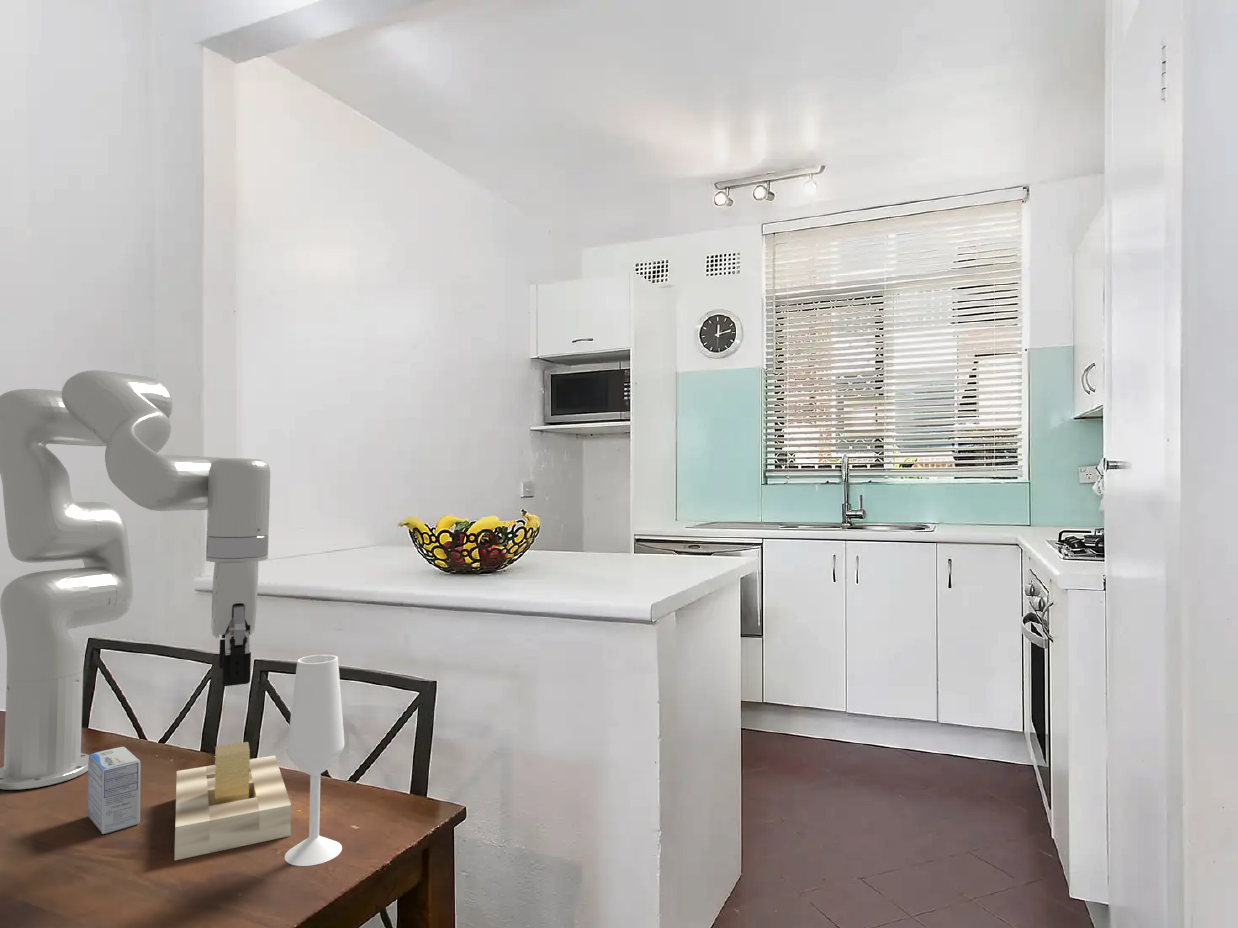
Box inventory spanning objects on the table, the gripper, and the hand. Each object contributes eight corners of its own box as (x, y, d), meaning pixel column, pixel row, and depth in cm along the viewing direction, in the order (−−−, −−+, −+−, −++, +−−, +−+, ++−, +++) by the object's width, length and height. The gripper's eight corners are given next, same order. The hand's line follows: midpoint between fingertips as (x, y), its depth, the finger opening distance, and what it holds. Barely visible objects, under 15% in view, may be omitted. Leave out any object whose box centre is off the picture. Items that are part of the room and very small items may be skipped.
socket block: (175, 798, 108) (176, 770, 108) (274, 781, 114) (274, 755, 114) (174, 860, 90) (175, 827, 90) (290, 835, 97) (291, 804, 97)
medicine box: (140, 824, 100) (142, 759, 100) (100, 836, 96) (102, 768, 97) (124, 806, 105) (125, 744, 105) (86, 816, 102) (87, 753, 102)
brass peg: (213, 820, 101) (215, 746, 101) (246, 814, 103) (248, 741, 103) (214, 832, 98) (215, 756, 98) (248, 826, 100) (249, 750, 100)
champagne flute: (272, 862, 90) (276, 663, 91) (307, 836, 97) (311, 651, 97) (320, 869, 89) (325, 667, 89) (353, 842, 95) (356, 654, 96)
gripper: (204, 544, 107) (201, 664, 106) (207, 556, 92) (203, 695, 91) (262, 543, 110) (259, 658, 110) (274, 554, 95) (270, 688, 95)
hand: (234, 675), depth 101 cm, fingers open, 9 cm apart
